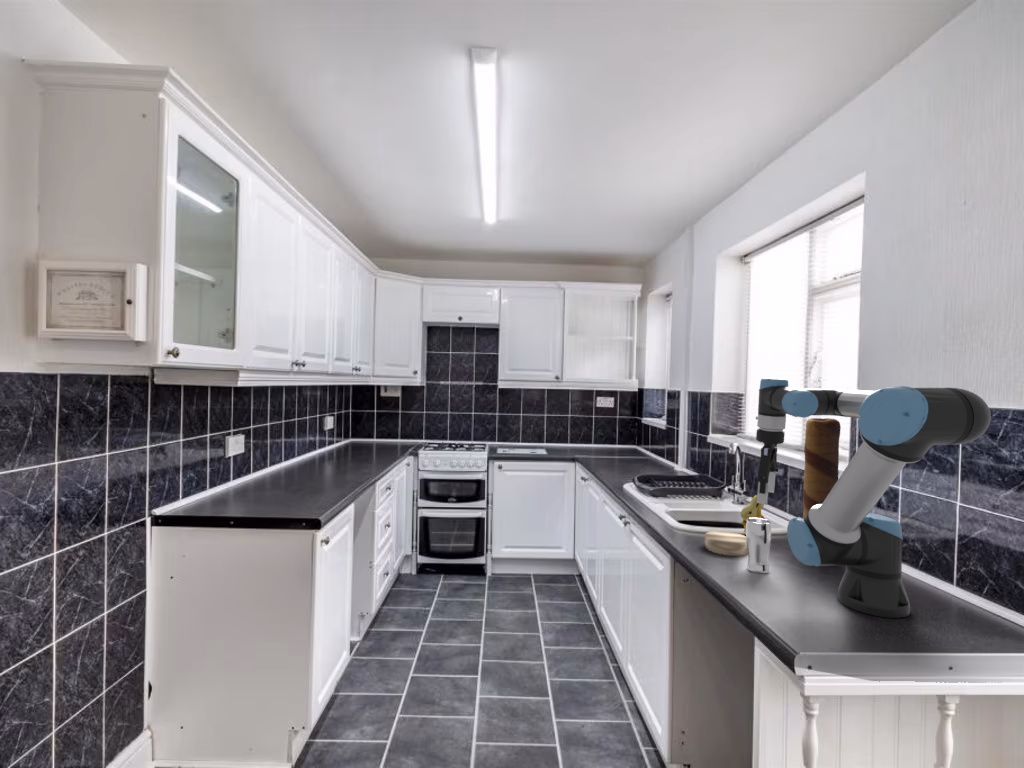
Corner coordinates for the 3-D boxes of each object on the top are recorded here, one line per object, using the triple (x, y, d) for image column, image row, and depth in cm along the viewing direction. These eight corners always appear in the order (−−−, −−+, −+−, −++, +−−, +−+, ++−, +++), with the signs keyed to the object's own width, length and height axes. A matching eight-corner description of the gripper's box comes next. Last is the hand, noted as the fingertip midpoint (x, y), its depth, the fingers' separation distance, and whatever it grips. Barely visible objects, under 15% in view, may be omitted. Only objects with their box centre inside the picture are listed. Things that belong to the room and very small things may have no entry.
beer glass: (770, 568, 156) (771, 519, 156) (771, 576, 149) (772, 524, 149) (745, 564, 159) (745, 516, 159) (745, 572, 152) (745, 521, 152)
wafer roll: (845, 559, 165) (847, 419, 165) (812, 558, 165) (814, 419, 165) (826, 548, 175) (828, 417, 175) (795, 548, 175) (797, 417, 175)
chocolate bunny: (737, 533, 192) (738, 493, 192) (767, 534, 192) (767, 494, 192) (745, 538, 185) (745, 497, 185) (776, 539, 185) (776, 498, 185)
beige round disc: (751, 558, 165) (751, 545, 165) (704, 552, 170) (704, 540, 170) (747, 545, 178) (747, 533, 178) (704, 540, 183) (704, 529, 183)
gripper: (763, 421, 166) (759, 485, 168) (749, 433, 145) (744, 506, 147) (789, 424, 161) (784, 489, 164) (778, 437, 141) (773, 511, 143)
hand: (765, 497), depth 156 cm, fingers open, 13 cm apart
